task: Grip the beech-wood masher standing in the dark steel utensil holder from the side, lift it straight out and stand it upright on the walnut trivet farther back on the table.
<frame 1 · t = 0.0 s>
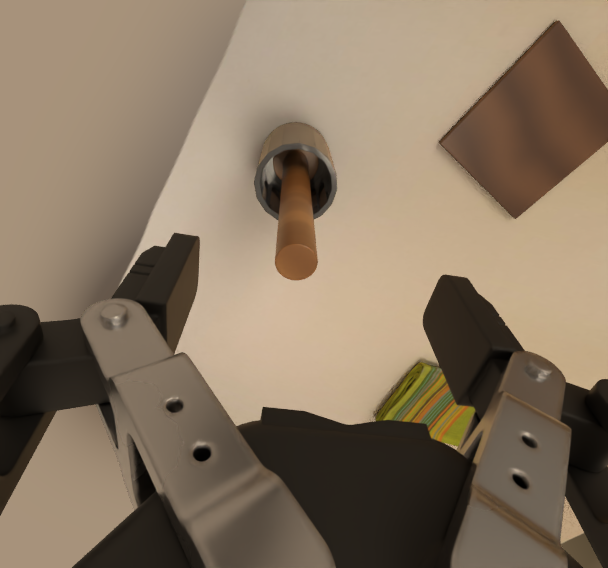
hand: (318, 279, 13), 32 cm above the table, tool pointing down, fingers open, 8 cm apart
holder: (295, 157, 42), on the table
dish towel: (482, 412, 67), on the table
masher: (295, 159, 42), point 1 cm above the table, touching holder
trivet: (531, 132, 41), on the table
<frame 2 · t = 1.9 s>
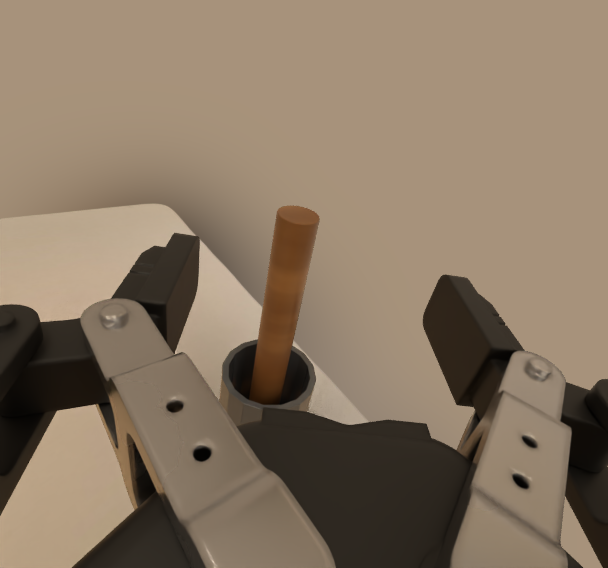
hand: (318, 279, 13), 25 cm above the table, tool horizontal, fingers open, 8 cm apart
holder: (257, 438, 35), on the table
masher: (258, 434, 35), point 1 cm above the table, touching holder
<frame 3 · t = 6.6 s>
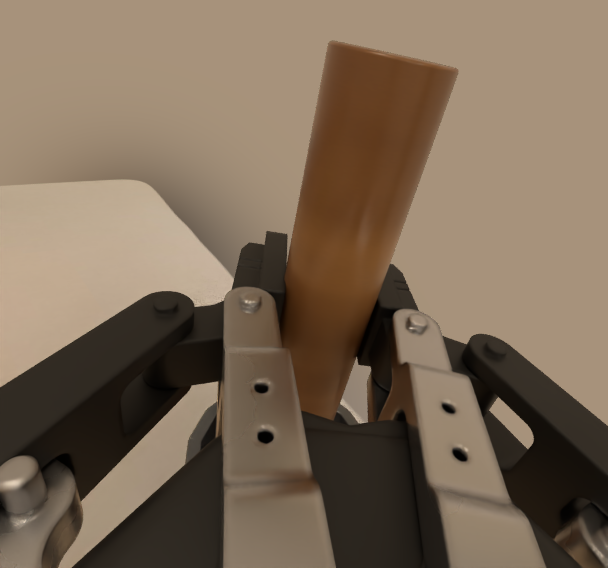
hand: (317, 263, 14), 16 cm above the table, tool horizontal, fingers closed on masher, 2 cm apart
holder: (258, 555, 20), on the table
masher: (259, 549, 19), point 1 cm above the table, touching gripper, holder
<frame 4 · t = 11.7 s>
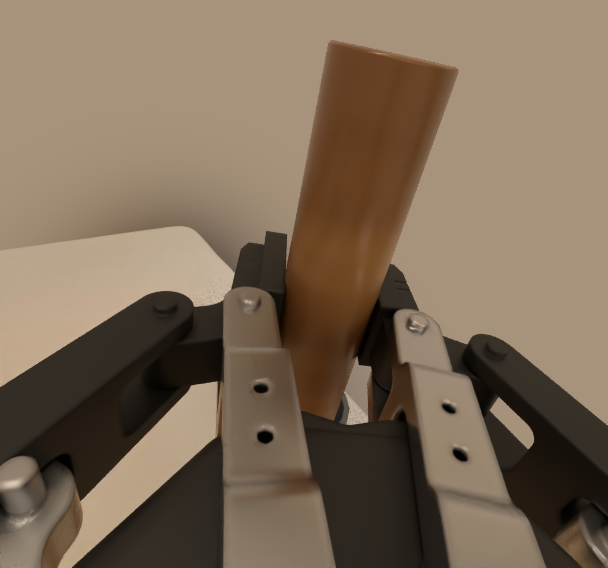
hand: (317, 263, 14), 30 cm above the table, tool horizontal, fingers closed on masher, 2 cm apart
masher: (260, 549, 19), point 15 cm above the table, touching gripper
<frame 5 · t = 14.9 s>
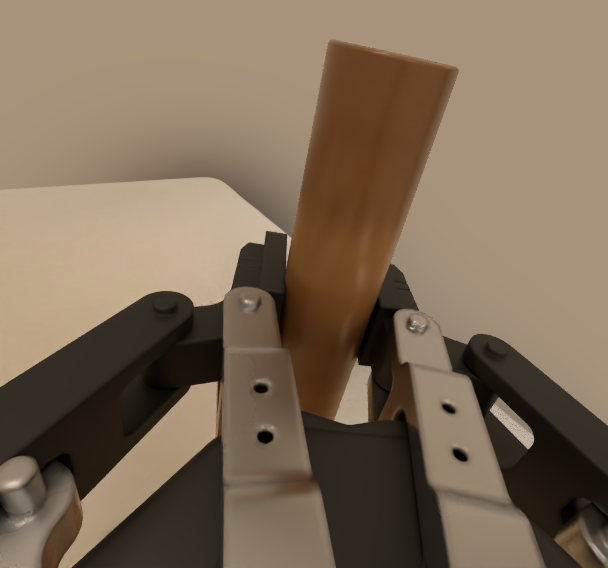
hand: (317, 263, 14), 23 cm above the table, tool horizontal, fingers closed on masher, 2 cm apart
masher: (260, 549, 19), point 8 cm above the table, touching gripper
when the fingers open (16 cm above the table, at t = 17.1 s): masher stays where it is, resting on trivet.
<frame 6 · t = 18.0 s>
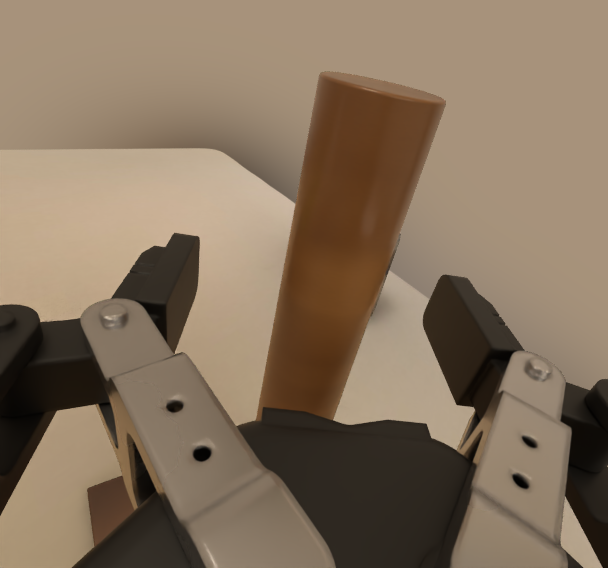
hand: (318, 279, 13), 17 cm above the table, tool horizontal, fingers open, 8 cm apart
masher: (256, 557, 20), point 1 cm above the table, touching trivet
trivet: (255, 560, 20), on the table
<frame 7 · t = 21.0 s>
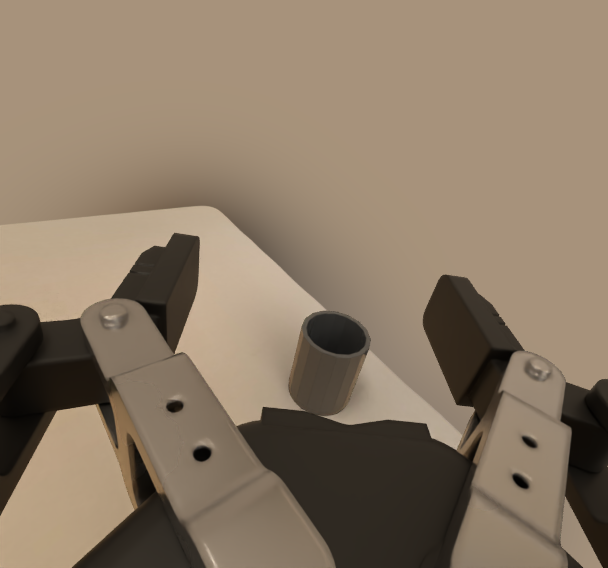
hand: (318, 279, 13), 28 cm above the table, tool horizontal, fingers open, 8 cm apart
holder: (318, 389, 46), on the table
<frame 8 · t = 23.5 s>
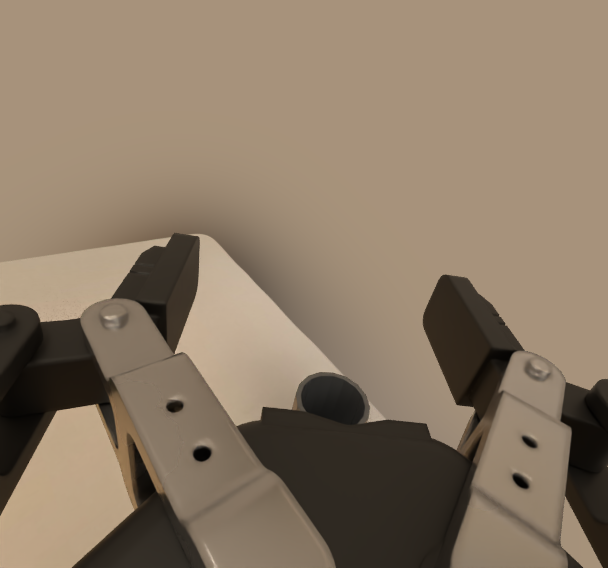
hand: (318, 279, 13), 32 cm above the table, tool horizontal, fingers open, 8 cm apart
holder: (315, 452, 43), on the table
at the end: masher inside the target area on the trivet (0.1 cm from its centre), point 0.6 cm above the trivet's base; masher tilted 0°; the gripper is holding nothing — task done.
